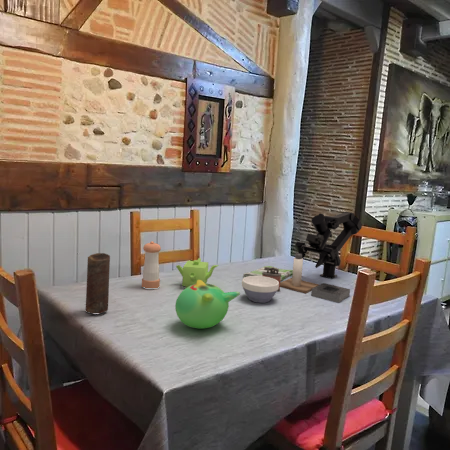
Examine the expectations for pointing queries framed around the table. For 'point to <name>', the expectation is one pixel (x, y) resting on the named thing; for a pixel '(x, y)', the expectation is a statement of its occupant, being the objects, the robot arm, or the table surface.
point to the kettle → (195, 272)
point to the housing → (330, 292)
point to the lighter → (272, 274)
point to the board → (303, 288)
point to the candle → (97, 283)
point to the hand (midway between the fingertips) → (306, 265)
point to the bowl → (260, 288)
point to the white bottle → (297, 270)
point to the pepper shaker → (151, 266)
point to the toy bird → (203, 305)
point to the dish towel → (258, 272)
